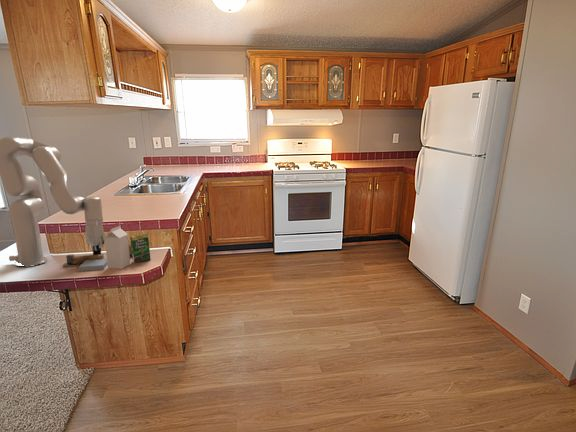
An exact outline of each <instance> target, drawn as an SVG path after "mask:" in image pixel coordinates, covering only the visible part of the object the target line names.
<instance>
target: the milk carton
mask: <svg viewBox="0 0 576 432" xmlns="http://www.w3.org/2000/svg"><path fill="white" fill-rule="evenodd" d="M128 240H129V234H128V233H127V232H126V231H124V230H123V229H122V228H121V225H119V226H117V227H113V228H111V229H110V230H109V231H108V234H107V235H105V244H104V245H105V253H106V259H107V269H116V270H117V269H120V270H121V269H124V268H126V267H127V266H129V265H130V264H131V259H130V255H129V243H128Z"/></svg>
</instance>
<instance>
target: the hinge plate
mask: <svg viewBox="0 0 576 432" xmlns="http://www.w3.org/2000/svg"><path fill="white" fill-rule="evenodd" d="M78 265H81V263H77V264H70V265H68V264H67V262H66V263H63V264H62V267H64V266H65V267H66V268H70V267H75V266H78ZM65 267H64V268H65Z"/></svg>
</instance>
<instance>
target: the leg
mask: <svg viewBox="0 0 576 432" xmlns="http://www.w3.org/2000/svg"><path fill="white" fill-rule="evenodd" d="M65 258H66V263H67V264H68V265H70V264H77V263H80V264H83V263H84V262H85V261H86V260H102V259H105V256H104V253H101V254H98V255H93V254H87V255H78V256H75V254H67V255H66V257H65Z"/></svg>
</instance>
